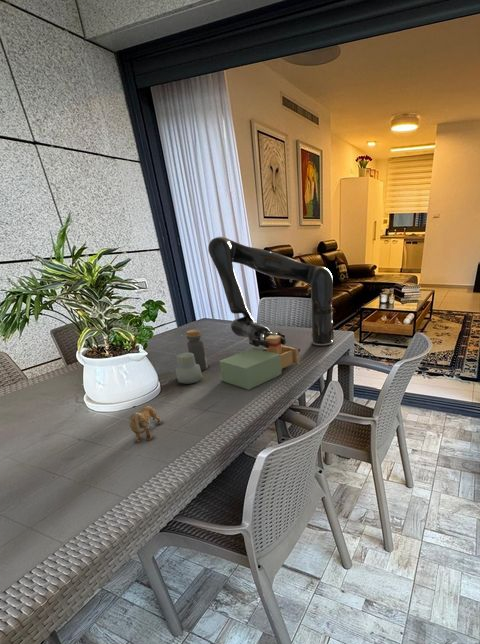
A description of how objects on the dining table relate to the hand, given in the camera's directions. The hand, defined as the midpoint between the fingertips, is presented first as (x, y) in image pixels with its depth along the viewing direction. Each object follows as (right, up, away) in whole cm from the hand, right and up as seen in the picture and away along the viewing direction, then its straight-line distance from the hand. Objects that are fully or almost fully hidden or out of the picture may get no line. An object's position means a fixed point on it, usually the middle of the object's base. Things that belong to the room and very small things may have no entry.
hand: (276, 343), depth 132 cm
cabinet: (-8, -13, -2) cm, 16 cm away
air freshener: (-31, -14, -3) cm, 34 cm away
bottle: (-31, -8, +8) cm, 34 cm away
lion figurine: (-30, -32, -36) cm, 57 cm away
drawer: (0, -7, +7) cm, 10 cm away
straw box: (-1, -4, +5) cm, 6 cm away
